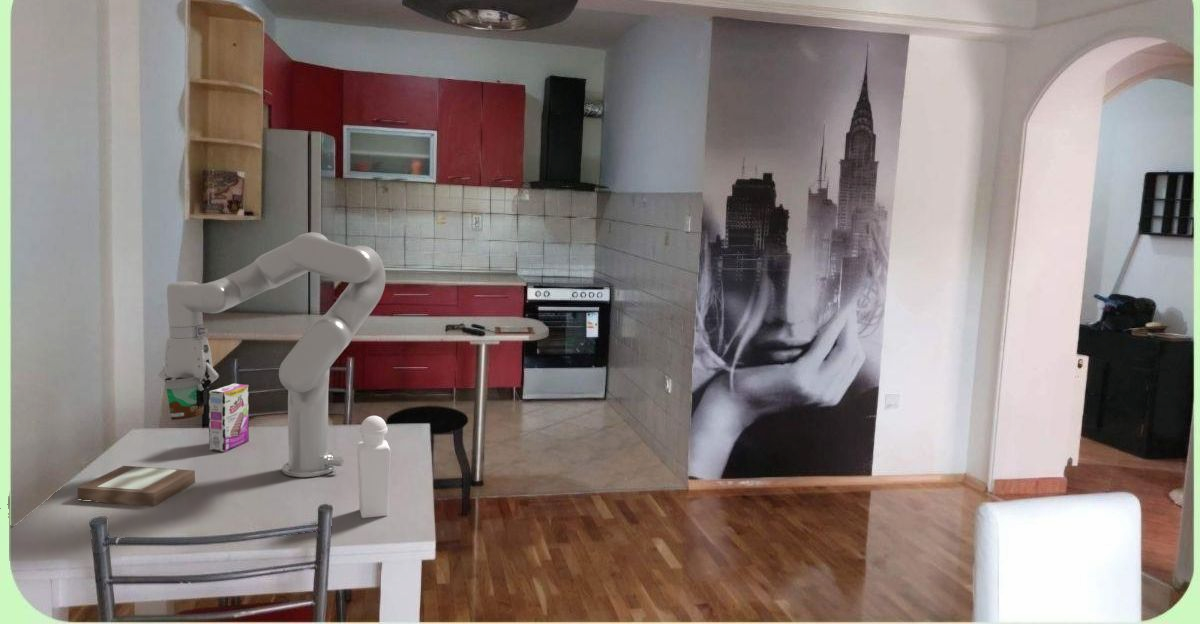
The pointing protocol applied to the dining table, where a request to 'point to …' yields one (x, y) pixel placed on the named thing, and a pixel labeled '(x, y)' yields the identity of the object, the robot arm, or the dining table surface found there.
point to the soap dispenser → (373, 468)
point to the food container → (183, 398)
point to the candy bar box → (228, 417)
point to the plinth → (137, 485)
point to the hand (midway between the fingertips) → (190, 404)
